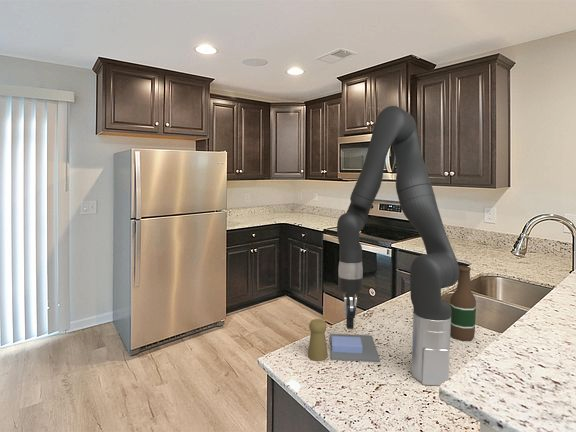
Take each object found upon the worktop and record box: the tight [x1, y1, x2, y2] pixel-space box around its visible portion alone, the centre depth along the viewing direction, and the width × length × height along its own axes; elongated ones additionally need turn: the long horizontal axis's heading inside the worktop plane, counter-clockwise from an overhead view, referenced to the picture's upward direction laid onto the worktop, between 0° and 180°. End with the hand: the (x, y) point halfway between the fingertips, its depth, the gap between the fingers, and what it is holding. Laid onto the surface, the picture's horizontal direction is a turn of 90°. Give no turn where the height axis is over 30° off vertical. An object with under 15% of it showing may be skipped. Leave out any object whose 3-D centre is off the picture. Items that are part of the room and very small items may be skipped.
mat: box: [329, 333, 381, 363], centre depth 107 cm, size 16×14×1 cm
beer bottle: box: [449, 265, 477, 342], centre depth 114 cm, size 8×8×24 cm
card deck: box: [332, 336, 362, 353], centre depth 106 cm, size 2×9×6 cm
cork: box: [307, 318, 329, 362], centre depth 102 cm, size 6×6×11 cm
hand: (349, 327), depth 109 cm, fingers closed
